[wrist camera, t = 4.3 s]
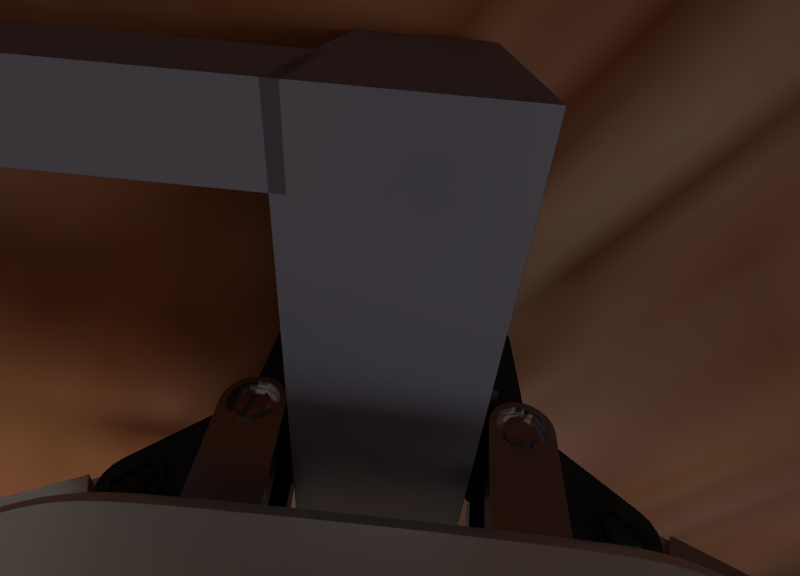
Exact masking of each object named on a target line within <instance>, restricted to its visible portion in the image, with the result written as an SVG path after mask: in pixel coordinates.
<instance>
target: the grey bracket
mask: <svg viewBox="0 0 800 576" xmlns="http://www.w3.org/2000/svg"><path fill="white" fill-rule="evenodd" d="M565 109H566V105H565V104H564V103H563V102H562V101H561V100H560V99H559V98H558V97H557V96H556V95H555V94H553V93H552V92H551V91H550V90H549V89H548V88H547V87H546V86H545V85H544V84H543V83H542V82H540V81H539V80H538V79H537V78H536V77H535V76H534V75H533V74H532V73H531V72H530V71H529V70H527V69H526V68H525V67H524V66H523V65H522V64H521V63H520V62H519V61H518V60H517V59H516V58H514V57H513V56H512V55H511V54H510V53H509V52H508V51H507V50H506V49H505V48H504V47H503V46H501V45H500V44H499V43H494V42H483V41H472V40H460V39H449V38H438V37H427V36H416V35H405V34H394V33H383V32H372V31H361V30H352V31H350V32H348V33H346V34H344V35H342V36H340V37H338V38H336V39H334V40H332V41H329V42H327V43H325V44H323V45H321V46H319V47H317V48H315V49H306V48H295V47H284V46H273V45H262V44H251V43H240V42H230V41H219V40H208V39H197V38H186V37H175V36H164V35H153V34H142V33H131V32H120V31H109V30H99V29H88V28H77V27H66V26H55V25H44V24H33V23H10V24H0V167H5V168H15V169H25V170H36V171H46V172H56V173H66V174H77V175H87V176H97V177H107V178H118V179H128V180H138V181H148V182H159V183H169V184H179V185H190V186H200V187H210V188H220V189H231V190H241V191H251V192H261V193H269V205H270V216H271V227H272V239H273V250H274V262H275V273H276V284H277V296H278V307H279V318H280V330H281V341H282V353H283V364H284V375H285V387H286V398H287V409H288V421H289V432H290V444H291V455H292V466H293V478H294V489H295V500H296V508H299V509H309V510H319V511H328V512H338V513H347V514H357V515H366V516H376V517H385V518H394V519H404V520H413V521H422V522H432V523H441V524H450V525H458V521H459V517H460V514H461V510H462V506H463V502H464V498H465V494H466V490H467V487H468V483H469V479H470V475H471V471H472V467H473V463H474V460H475V456H476V452H477V448H478V444H479V440H480V436H481V433H482V429H483V425H484V421H485V417H486V413H487V409H488V406H489V402H490V398H491V394H492V390H493V386H494V382H495V379H496V375H497V371H498V367H499V363H500V359H501V356H502V352H503V348H504V344H505V340H506V336H507V332H508V329H509V325H510V321H511V317H512V313H513V309H514V305H515V302H516V298H517V294H518V290H519V286H520V282H521V278H522V275H523V271H524V267H525V263H526V259H527V255H528V251H529V248H530V244H531V240H532V236H533V232H534V228H535V224H536V221H537V217H538V213H539V209H540V205H541V201H542V197H543V194H544V190H545V186H546V182H547V178H548V174H549V171H550V167H551V163H552V159H553V155H554V151H555V147H556V144H557V140H558V136H559V132H560V128H561V124H562V120H563V117H564V113H565Z"/></svg>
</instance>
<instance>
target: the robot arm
mask: <svg viewBox="0 0 800 576" xmlns="http://www.w3.org/2000/svg"><path fill="white" fill-rule="evenodd" d="M293 492H294V478H293V466H292V455H291V444H290V432H289V421H288V409H287V398H286V387H285V375H284V364H283V353H282V341H281V331H280V333H279V335H278V337H277V339H276V342H275V344H274V346H273V348H272V350H271V353H270V355H269V357H268V359H267V361H266V364H265V366H264V368H263V370H262V372H261V375H260V376H259V377H249V378H246V379H242V380H240V381H238V382H236V383H234V384H232V385H231V386H230V387H229V388H227V389H226V390H225V391H224V393H223V394H222V396H221V398H220V399H219V402H218V404H217V407H216V409H215V412H214V414H213V415H212V416H210V417H208V418H206V419H204V420H201V421H199V422H197V423H195V424H193V425H191V426H189V427H187V428H185V429H183V430H181V431H179V432H177V433H175V434H172V435H170V436H168V437H166V438H164V439H162V440H160V441H158V442H156V443H154V444H152V445H150V446H148V447H146V448H143V449H141V450H139V451H137V452H135V453H133V454H131V455H129V456H127V457H125V458H123V459H121V460H120V461H118V462H116V463H115V464H113V465H112V466H111V467H110V468H109V469H107V470H106V471H105V472H104V473H103V474H102V476H101V477H99V478H95V479H91V477H90V475H85V476H81V477H78V478H74V479H70V480H67V481H63V482H59V483H55V484H52V485H48V486H44V487H41V488H37V489H33V490H29V491H26V492H22V493H18V494H15V495H11V496H7V497H3V498H0V576H749V575H747V574H745V573H743V572H741V571H739V570H737V569H735V568H734V567H732V566H730V565H728V564H726V563H724V562H722V561H720V560H718V559H716V558H714V557H712V556H710V555H708V554H706V553H704V552H702V551H700V550H698V549H696V548H694V547H692V546H690V545H688V544H686V543H684V542H682V541H680V540H678V539H676V538H674V537H672V536H671V537H670V539H669V540H666V539H664V538H662V537H660V536H659V535H658V533H657V531H656V530H655V529H654V527H653V526H652V524H651V523H650V521H648V520H647V519H646V518H645V517H644V516H643V515H642V514H641V513H640V512H639V511H637V510H636V509H635V508H634V507H632V506H631V505H630V504H628V503H627V502H626V501H624V500H623V499H622V498H621V497H619V496H618V495H617V494H615V493H614V492H613V491H612V490H610V489H609V488H608V487H606V486H605V485H604V484H602V483H601V482H600V481H599V480H597V479H596V478H595V477H593V476H592V475H591V474H590V473H588V472H587V471H586V470H584V469H583V468H582V467H580V466H579V465H578V464H577V463H575V462H574V461H573V460H571V459H570V458H569V457H567V456H566V455H565V454H564V453H562V452H561V451H560V450H558V445H557V439H556V433H555V430H554V427H553V424H552V423H551V422H550V420H549V419H548V418H547V417H546V416H545V415H544V414H543V413H542V412H540V411H539V410H537V409H536V408H534V407H532V406H530V405H526V404H523V403H522V399H521V394H520V389H519V384H518V379H517V374H516V369H515V365H514V360H513V355H512V350H511V345H510V340H509V337H508V335H507V336H506V340H505V344H504V348H503V352H502V356H501V359H500V363H499V367H498V371H497V375H496V379H495V382H494V386H493V390H492V394H491V398H490V402H489V406H488V409H487V413H486V417H485V421H484V425H483V429H482V433H481V436H480V440H479V444H478V448H477V452H476V456H475V460H474V463H473V467H472V471H471V475H470V479H469V483H468V487H467V490H466V494H465V499H466V500H467V505H466V526H459V525H450V524H441V523H432V522H422V521H413V520H404V519H394V518H385V517H376V516H366V515H357V514H347V513H338V512H328V511H319V510H309V509H299V508H290V507H291V502H292V497H293Z"/></svg>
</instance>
